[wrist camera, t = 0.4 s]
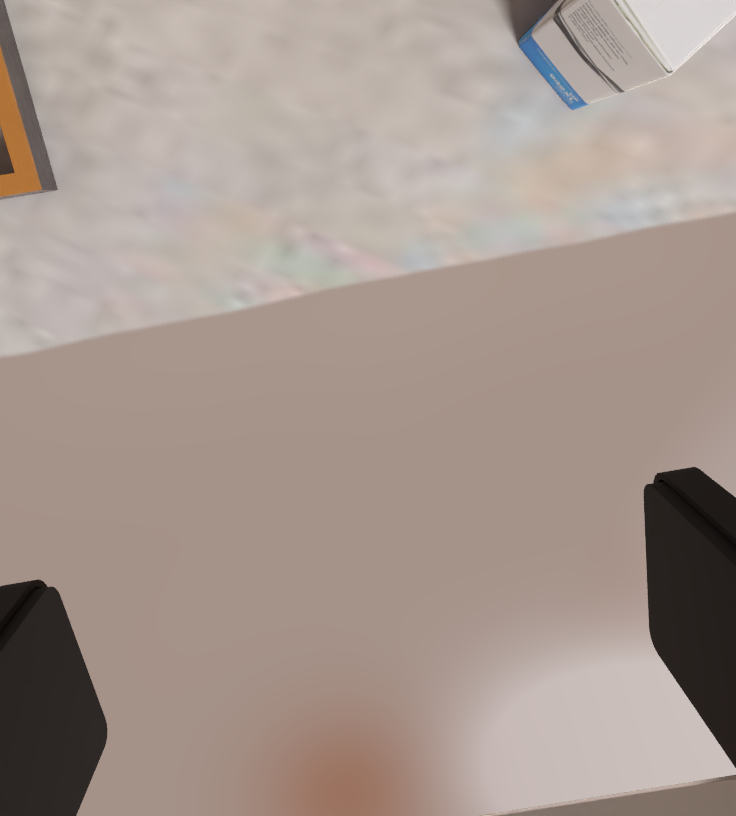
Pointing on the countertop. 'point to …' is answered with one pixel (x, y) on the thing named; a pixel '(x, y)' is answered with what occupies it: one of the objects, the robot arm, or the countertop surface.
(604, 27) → the ink box
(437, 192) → the countertop surface
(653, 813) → the robot arm
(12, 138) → the grey flat frame
